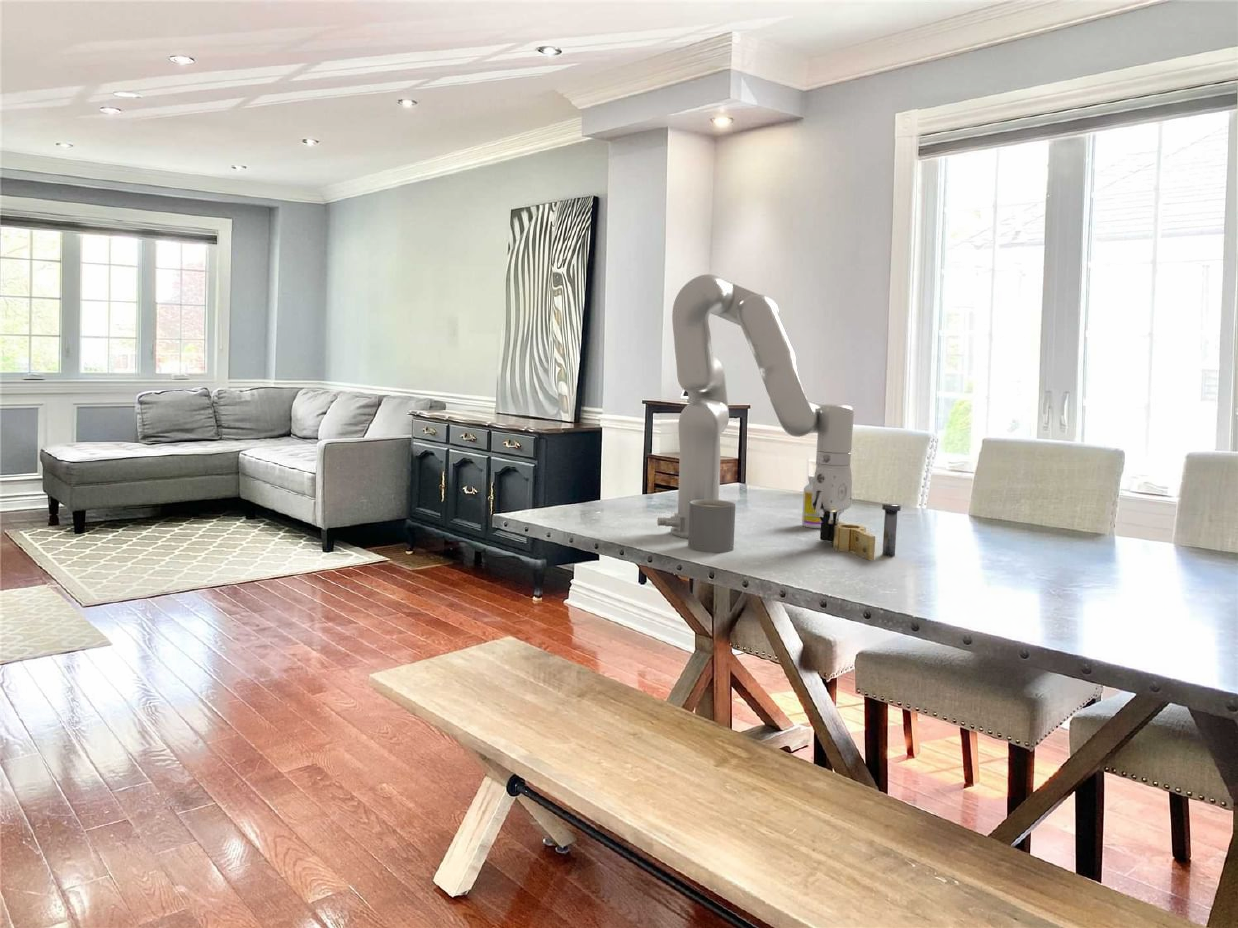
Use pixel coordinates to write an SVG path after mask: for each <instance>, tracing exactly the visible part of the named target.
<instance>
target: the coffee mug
mask: <svg viewBox="0 0 1238 928" xmlns="http://www.w3.org/2000/svg"><path fill="white" fill-rule="evenodd" d="M735 523H736V503H734V502H733V501H729V500H723V499H722V500H721V499H719V500H694V501H691V502H690V507H689V536H688V538H687V539H688V540H687V541H688V542H687V547H688V549H689V550H692V551H694V552H700V553H708V554H709V553H710V554H720V553H721V554H723V553H724V554H725V553H730V552H733V551H734V549H735V548H734V547H735V527H736V525H735Z"/></svg>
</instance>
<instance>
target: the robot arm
mask: <svg viewBox="0 0 1238 928" xmlns="http://www.w3.org/2000/svg"><path fill="white" fill-rule="evenodd" d="M671 313H672V315H671V319H672V331H673V342H674V353H675V362H676V363H675V364H676V365H675V366H676V377H677V381H678V384H679V385H680V387H681V388H682V390H683V391H685V392H687V396H688V397H687V398H688V404H686V405H685V406H684V408H683V409H682V410H681V413H680V415H679V418H678V423H677V424H678V441H679V444H678V445H679V459H678V460H679V463H678V464H679V466H678V468H679V470H678V498H677V499H678V500H677V512H675V513H674V515H673V516H670V517H657V526H658V527H659V526H661V527H662V526H663V527H670V534H671V535H673V536H676V537H680V538H685V539H688V536H689V507H690V502H691V501H694V500H720V483H721V482H720V481H721V479H720V478H721V477H720V476H721V435H722V434H723V433H724V432H725V430H727V427H728V426H729V421H730V409H729V401H728V393H727V383H726V374H725V371H724V367H723V364H722V363H721V362H720V360H719V359H718V358H717V357H716V356H714V354H713V353H714V352H713V346H712V337H711V336H712V334H711V330H710V324H709V318H710V317H709V316H710V314H711V315H713V316H717V317H719V318H721V319H723V320H725V321H729V322H730V323H732V324H734V325H735V324H736V325H737V326H740V327H741V330H742V332H743V335H744V337H745V339H746V342H747V344H748V346H749V348H750V350H751V352H752V355H753V357H754V360H755V362H756V364H757V367H758V370H759V373H760V374H759V375H760V376H761V379H762V382H763V384H764V386H765V390H766V392H767V395H768V398H769V400H770V403H771V405H772V408H773V409H774V412H775V415H776V417H777V419H778V422H779V423H780V425H781V428H782V429H783V430H784V432H786V433H787V434H788V435H790V436H792V437H797V438H799V437H804V436H807V435H810V434H817V440H816V453H815V454H816V457H815V466H816V467H815V471H814V474H813V475H814V481H813V490H812V507H813V508H814V509H816V510H815V516H818V517H820V522H821V528H820V534H819V539H820V541H825V542H830V543H832V541H834V527H835V525H837V524H836V523H838V521H839V522H840V515H841V514H843V513H844V512H845V511H846V510H848V509H850V508H851V506H852V501H853V499H852V498H853V487H852V486H853V479H852V468H851V467H852V466H851V460H852V459H851V458H852V443H853V430H854V429H853V428H854V414H855V413H854V409H853V407H852V406H850V405H848V404H841V403H840V404H839V403H837V404H836V403H826V404H821V403H815V402H810V401H809V399H808V398H807V396H806V393H805V391H804V389H803V386H802V383H801V381H800V379H799V375H798V370H797V364H796V363H797V360H796V355H795V352H794V349H793V347H792V345H791V343H790V340H789V339H788V336H787V334H786V332H785V329H784V327H783V324H782V321H781V320H780V311H779V306H778V305H777V303H776V302H775V301H774V300H773V299H772V298H770V297H769V296H766V295H765V294H760V293H757V292H754V291H751V290H750V289H747V288H745V287H742V286H739V285H738V284H735V283H734V282H731V281H728V280H727V279H724V278H721V277H720V276H717V275H715V274H709V273H707V274H706V273H705V274H701V275H698V276H695V277H694V278H692V279H691V280H689V281H688V282H687V283H686V284H684V285H683V287H681V289H680V290H679V292H678V293H677V295H676V297H675V300H674V301H673V306H672V312H671Z"/></svg>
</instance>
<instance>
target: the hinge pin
mask: <svg viewBox="0 0 1238 928" xmlns="http://www.w3.org/2000/svg"><path fill="white" fill-rule="evenodd" d="M881 506H882V507H881V510H883V511H884V519H883V520H884V521H883V536H882V537H883V538H882V540H883V541H882V552H881V553H882V556H883V557H891V558H892V557H895V556H896V543H897V528H898V527H897V525H898V513H899V512H901V508H902V505H901V504H899V503H898V504H897V503H882V505H881Z"/></svg>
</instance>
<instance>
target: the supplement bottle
mask: <svg viewBox="0 0 1238 928" xmlns="http://www.w3.org/2000/svg"><path fill="white" fill-rule="evenodd" d="M814 475H815V474H809V475H808V477H807V479H808V484H806V485H805V486H804V487H803V495H802V496H803V498H802V499H803V500H802V502H803V503H802V516H801V517H802V518H801V519H802V520H801V524H802V526H803V527H806V528H809V529H821V522H820V517H818V516H815V510H816V509H814V508H813V507H812V490H813V481H814Z"/></svg>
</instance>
